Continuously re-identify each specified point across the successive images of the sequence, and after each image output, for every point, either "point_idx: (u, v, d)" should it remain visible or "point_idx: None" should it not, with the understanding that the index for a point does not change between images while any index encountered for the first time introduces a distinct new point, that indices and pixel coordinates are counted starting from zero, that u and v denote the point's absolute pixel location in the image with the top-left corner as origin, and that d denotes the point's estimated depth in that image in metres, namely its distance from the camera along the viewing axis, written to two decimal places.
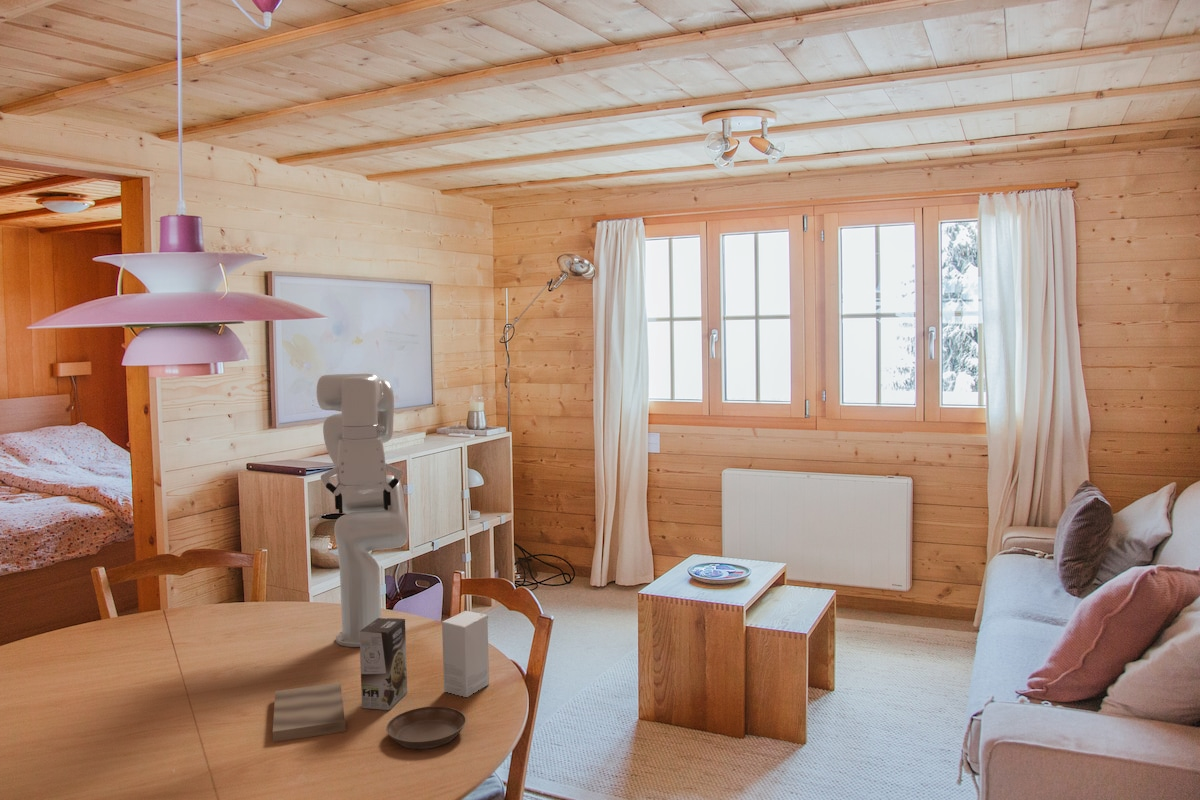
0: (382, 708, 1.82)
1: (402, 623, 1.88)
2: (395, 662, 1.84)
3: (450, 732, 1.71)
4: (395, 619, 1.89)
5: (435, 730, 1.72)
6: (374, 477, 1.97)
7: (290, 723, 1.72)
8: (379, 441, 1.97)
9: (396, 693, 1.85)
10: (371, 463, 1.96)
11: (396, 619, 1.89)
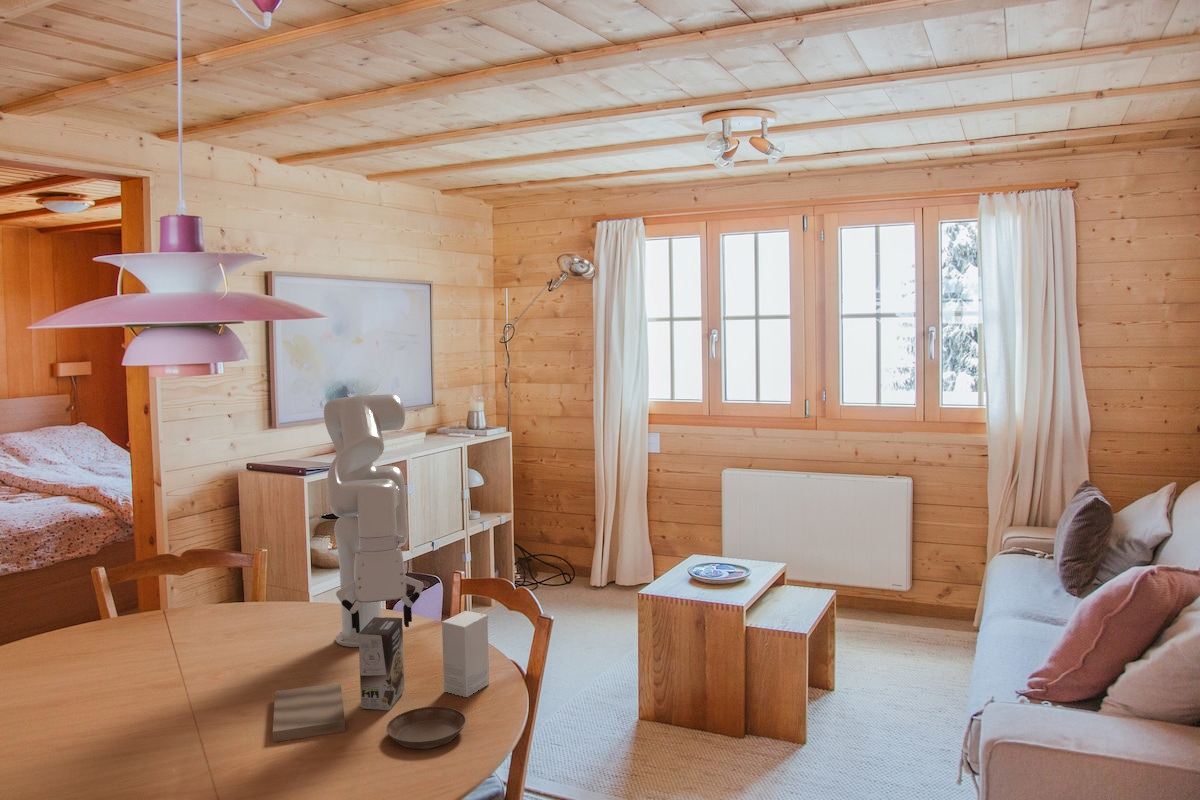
0: (382, 708, 1.82)
1: (399, 623, 1.86)
2: (394, 663, 1.83)
3: (450, 732, 1.71)
4: (393, 619, 1.87)
5: (435, 730, 1.72)
6: (394, 592, 1.82)
7: (290, 723, 1.72)
8: (398, 552, 1.82)
9: (395, 692, 1.85)
10: (390, 577, 1.81)
11: (393, 618, 1.87)
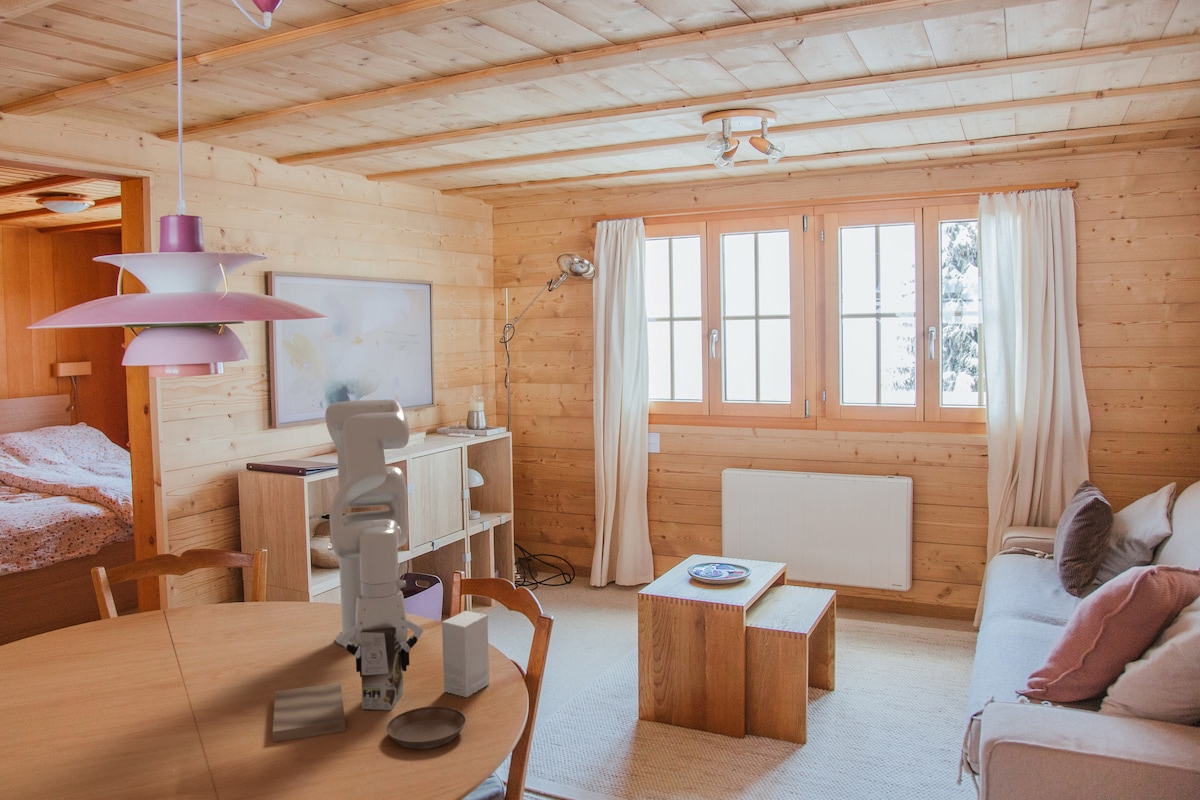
0: (384, 708, 1.82)
1: None
2: (396, 662, 1.84)
3: (450, 732, 1.71)
4: None
5: (435, 730, 1.72)
6: None
7: (290, 723, 1.72)
8: (400, 597, 1.84)
9: (396, 693, 1.85)
10: (391, 621, 1.84)
11: None
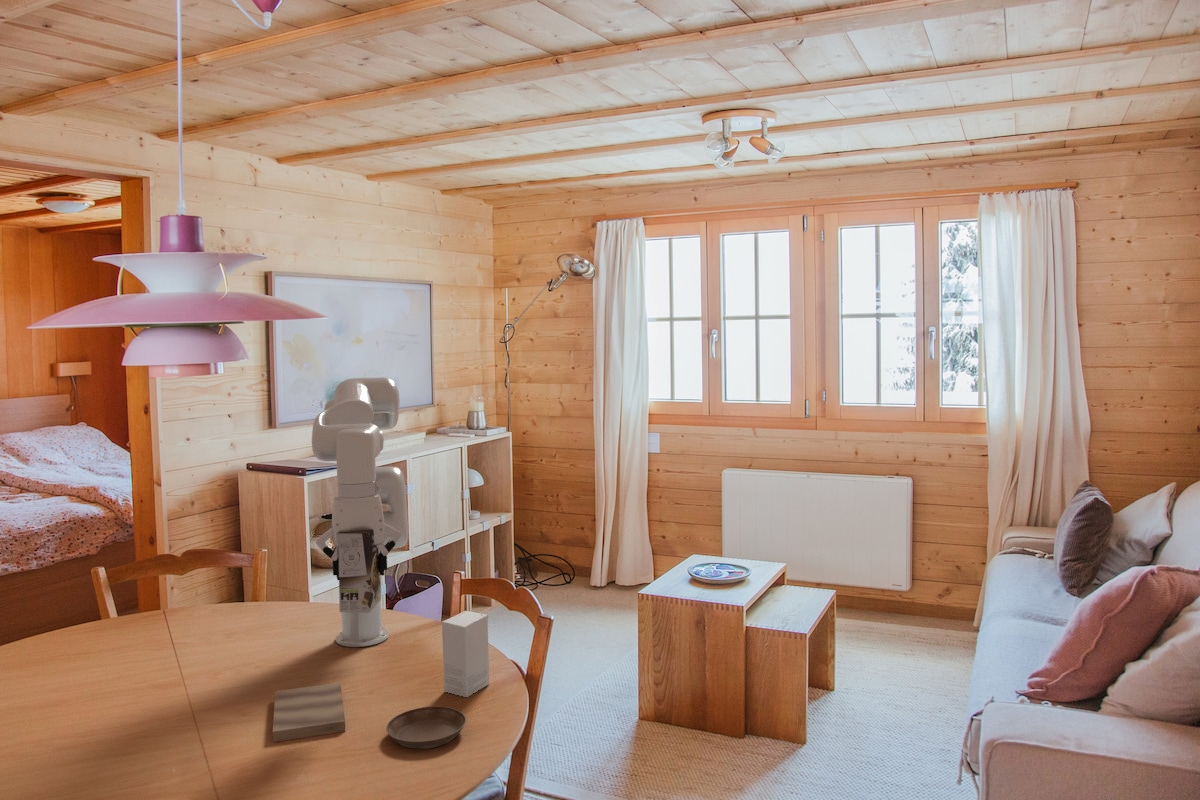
0: (362, 611, 1.79)
1: None
2: (374, 565, 1.81)
3: (450, 732, 1.71)
4: None
5: (435, 730, 1.72)
6: None
7: (290, 723, 1.72)
8: (377, 499, 1.81)
9: (374, 596, 1.82)
10: (369, 523, 1.80)
11: None
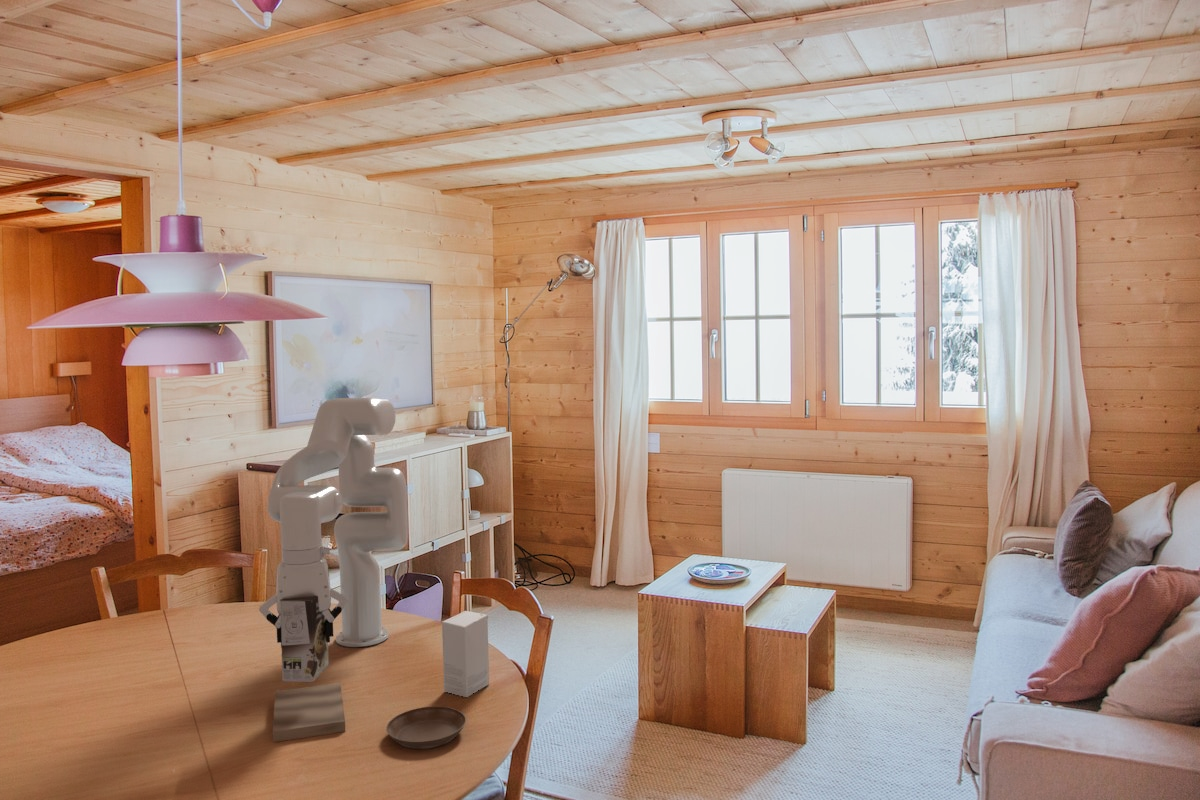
0: (305, 680, 1.75)
1: None
2: (318, 632, 1.77)
3: (450, 732, 1.71)
4: None
5: (435, 730, 1.72)
6: None
7: (290, 723, 1.72)
8: (323, 565, 1.77)
9: (319, 664, 1.78)
10: (313, 589, 1.76)
11: None
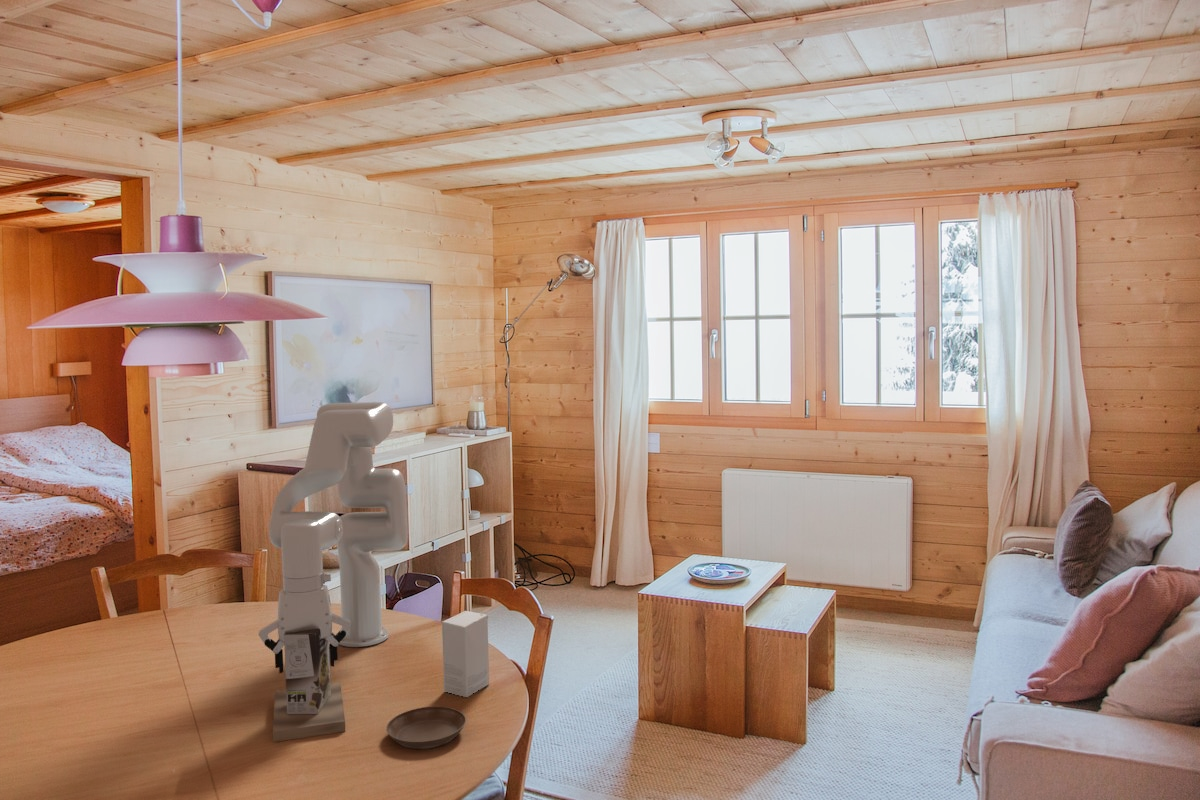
0: (310, 712, 1.76)
1: None
2: (321, 664, 1.78)
3: (450, 732, 1.71)
4: None
5: (435, 730, 1.72)
6: None
7: (290, 723, 1.72)
8: (324, 592, 1.78)
9: (323, 696, 1.79)
10: (315, 617, 1.77)
11: None
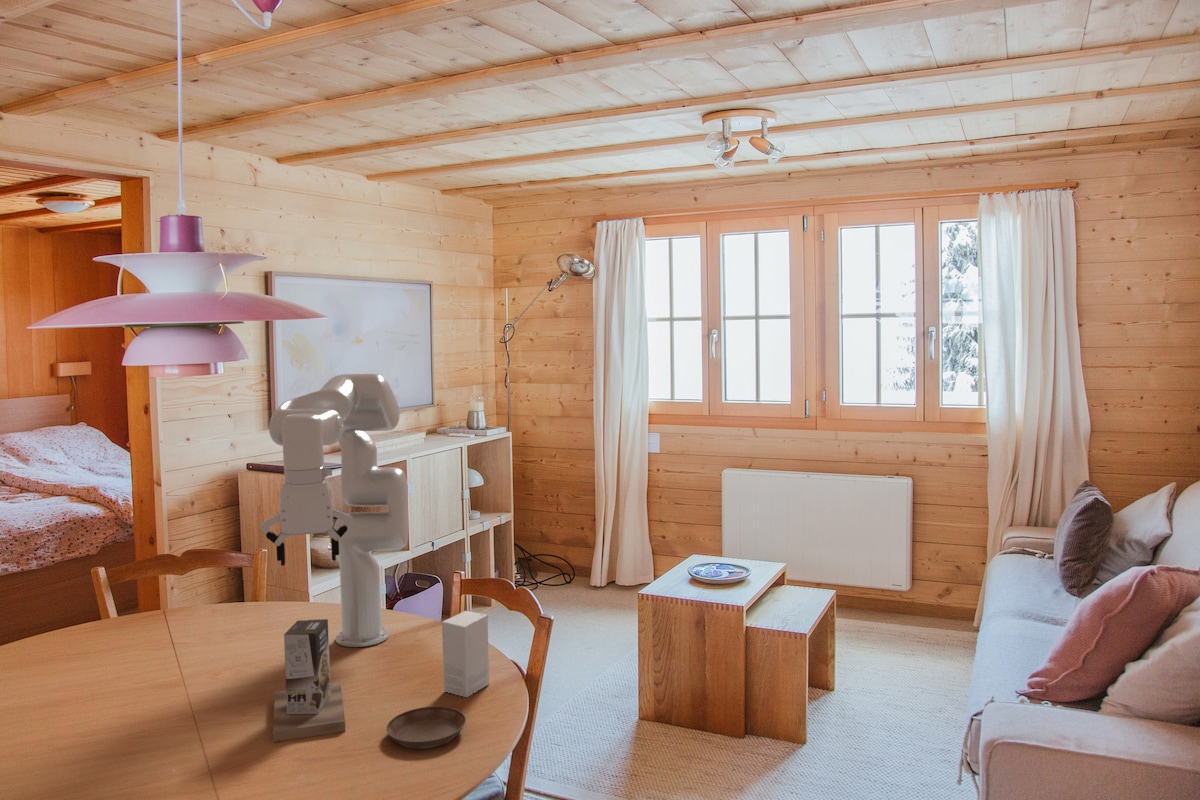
0: (310, 712, 1.76)
1: (325, 623, 1.82)
2: (321, 664, 1.78)
3: (450, 732, 1.71)
4: (318, 620, 1.82)
5: (435, 730, 1.72)
6: (320, 525, 1.78)
7: (290, 723, 1.72)
8: (325, 485, 1.78)
9: (323, 696, 1.79)
10: (316, 510, 1.77)
11: (318, 620, 1.83)
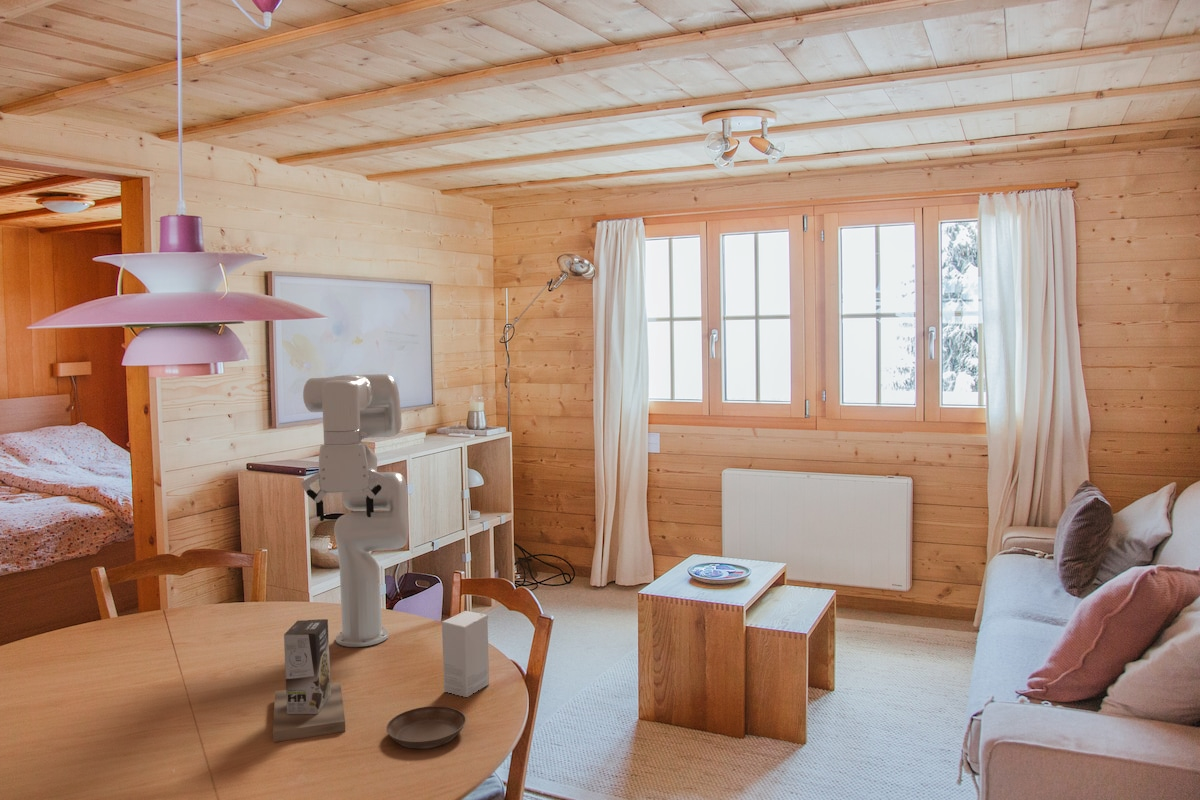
0: (310, 712, 1.76)
1: (325, 623, 1.82)
2: (322, 664, 1.78)
3: (450, 732, 1.71)
4: (318, 620, 1.82)
5: (435, 730, 1.72)
6: (357, 484, 1.91)
7: (290, 723, 1.72)
8: (361, 446, 1.91)
9: (323, 696, 1.79)
10: (353, 469, 1.91)
11: (318, 620, 1.83)
